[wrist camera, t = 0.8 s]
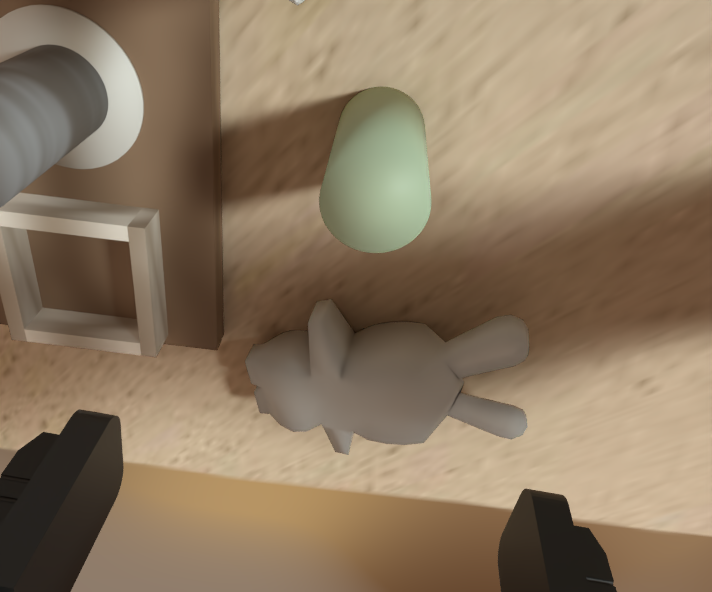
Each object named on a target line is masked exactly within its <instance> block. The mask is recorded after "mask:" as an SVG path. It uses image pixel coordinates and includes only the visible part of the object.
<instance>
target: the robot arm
mask: <svg viewBox="0 0 712 592" xmlns="http://www.w3.org/2000/svg"><path fill="white" fill-rule="evenodd" d="M122 476H123V454H122V439H121V425H120V419H119V417H118V416H114V415H109V414H103V413H97V412H91V411H86V410H77V411H76V412H75V413H74V414H73V415H72V417H71V418H70V420H69V421H68V423H67V424H66V426H65V427H64V429H63V430H62V432H61V433H60V435H57V434H52V433H46V432H43V433H41V434H40V435H39V436H37V437H36V438H35V439H33V440H32V441H30V442H29V443H28V444H26V445H25V446H24V447H22V448H21V449H20V450H18V451H17V453H16V454H15V456H14V457H13V458H12V460H11V461H10V463H9V464H8V465H7V467H6V468H5V470H4V471H3V473H2V474H1V478H0V592H70V591H71V589H72V587H73V585H74V583H75V581H76V579H77V577H78V575H79V573H80V571H81V569H82V567H83V565H84V563H85V561H86V559H87V557H88V555H89V553H90V551H91V549H92V547H93V545H94V542H95V540H96V538H97V537H98V534H99V532H100V530H101V528H102V526H103V524H104V522H105V520H106V518H107V516H108V514H109V512H110V510H111V508H112V506H113V504H114V502H115V500H116V498H117V495H118V492H119V489H120V486H121V481H122ZM498 568H499V577H500V586H501V592H617V591H616V587H614V586H613V581H614V580H613V577H612V573H611V570H610V567H609V563H608V559H607V556H606V553H605V552H604V550H603V549H602V547H601V546H600V544H599V543H598V541H597V540H596V538H595V537H594V535H593V534H592V532H591V531H590V529H589V528H585V527H579V526H574V525H573V521H572V517H571V513H570V509H569V505H568V502H567V499H566V498H565V497H564V496H563V495H559V494H554V493H548V492H542V491H536V490H531V489H524V490H523V491H522V493H521V495H520V497H519V499H518V501H517V503H516V505H515V507H514V510H513V512H512V514H511V516H510V518H509V520H508V523H507V525H506V527H505V529H504V531H503V533H502V536H501V540H500V544H499V551H498Z"/></svg>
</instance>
